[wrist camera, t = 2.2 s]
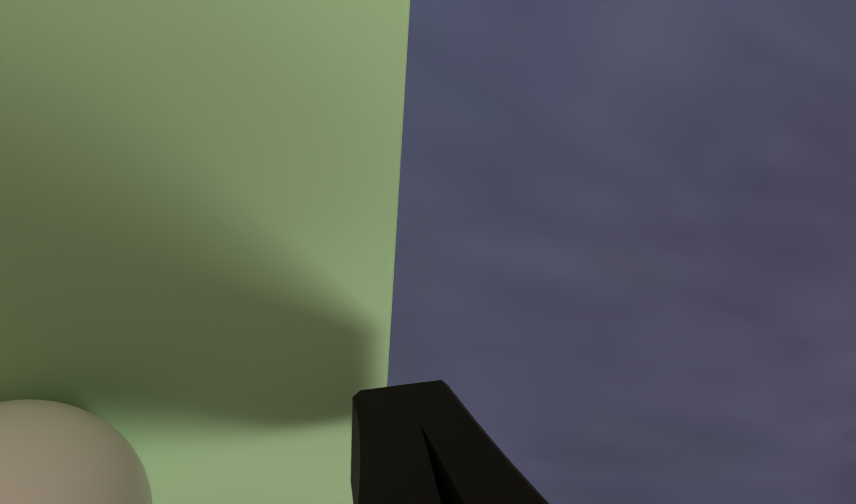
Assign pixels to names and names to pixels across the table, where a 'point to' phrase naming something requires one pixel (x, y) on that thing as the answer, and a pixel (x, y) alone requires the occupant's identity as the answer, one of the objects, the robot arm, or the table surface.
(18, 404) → the ball
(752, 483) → the table surface
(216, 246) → the putting mat
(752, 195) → the table surface
